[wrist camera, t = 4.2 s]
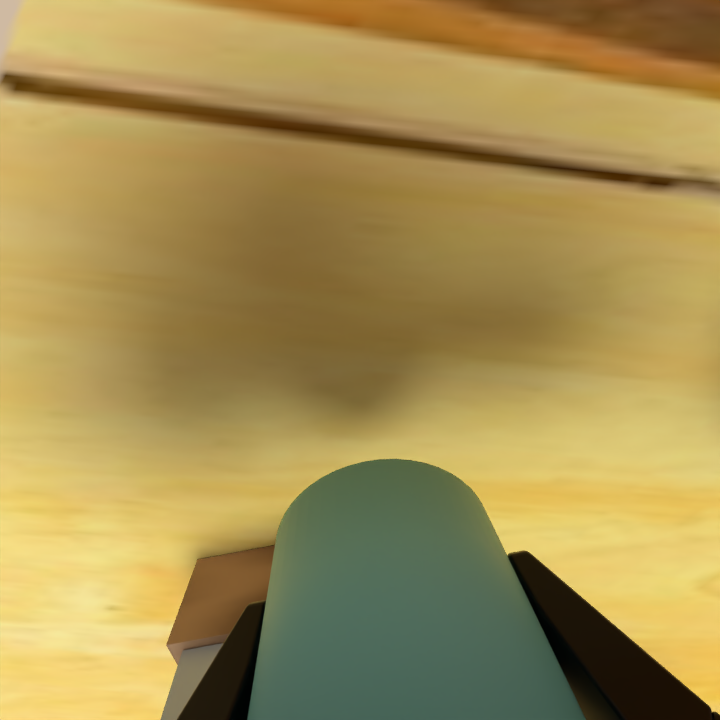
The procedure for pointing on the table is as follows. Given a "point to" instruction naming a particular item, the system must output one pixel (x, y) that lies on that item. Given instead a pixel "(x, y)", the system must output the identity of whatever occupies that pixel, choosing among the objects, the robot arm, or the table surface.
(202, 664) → the tower top
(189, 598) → the tower base
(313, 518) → the teal cylinder
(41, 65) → the table surface
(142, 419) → the table surface
